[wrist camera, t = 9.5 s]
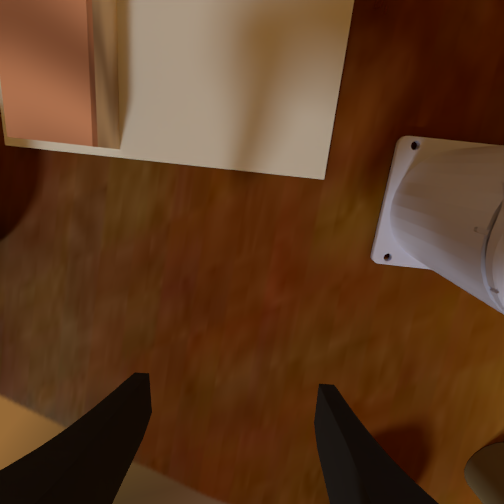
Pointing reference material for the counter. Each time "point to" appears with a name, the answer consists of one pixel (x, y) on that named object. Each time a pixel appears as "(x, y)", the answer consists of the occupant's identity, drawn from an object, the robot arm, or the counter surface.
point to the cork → (487, 474)
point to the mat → (226, 84)
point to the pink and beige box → (60, 71)
